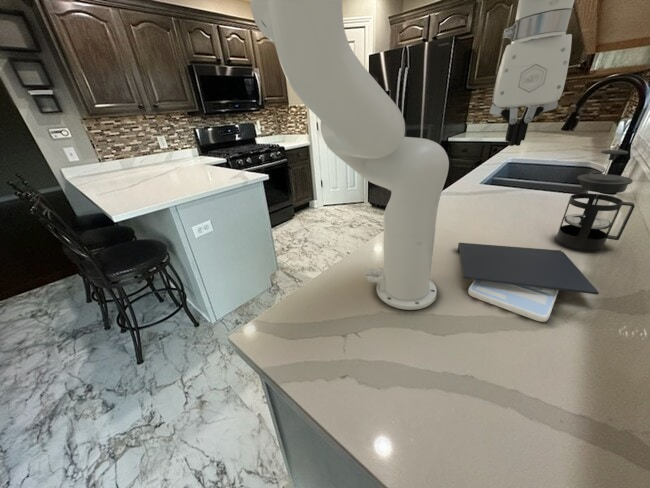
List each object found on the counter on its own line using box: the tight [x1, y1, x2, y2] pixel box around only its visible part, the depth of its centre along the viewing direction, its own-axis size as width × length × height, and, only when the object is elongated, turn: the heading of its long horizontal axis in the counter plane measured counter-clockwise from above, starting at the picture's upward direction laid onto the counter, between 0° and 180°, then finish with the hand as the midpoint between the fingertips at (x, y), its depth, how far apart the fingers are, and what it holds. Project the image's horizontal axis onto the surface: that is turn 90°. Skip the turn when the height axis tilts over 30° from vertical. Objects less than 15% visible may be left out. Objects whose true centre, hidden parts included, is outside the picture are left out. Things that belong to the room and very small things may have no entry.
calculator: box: [467, 279, 560, 323], centre depth 55 cm, size 13×20×2 cm, turn 135°
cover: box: [458, 243, 600, 296], centre depth 57 cm, size 22×16×1 cm
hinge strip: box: [457, 242, 563, 253], centre depth 65 cm, size 22×1×2 cm, turn 68°
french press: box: [554, 149, 636, 253], centre depth 61 cm, size 12×9×23 cm
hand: (513, 144), depth 53 cm, fingers closed
